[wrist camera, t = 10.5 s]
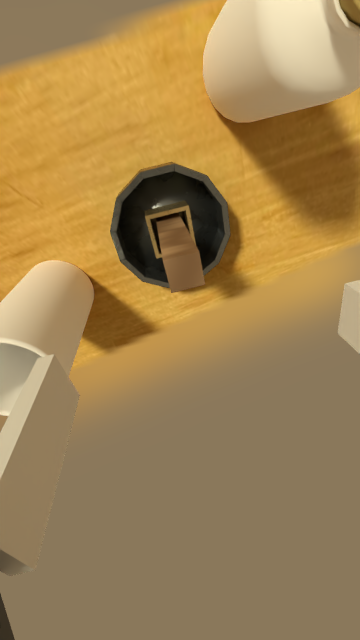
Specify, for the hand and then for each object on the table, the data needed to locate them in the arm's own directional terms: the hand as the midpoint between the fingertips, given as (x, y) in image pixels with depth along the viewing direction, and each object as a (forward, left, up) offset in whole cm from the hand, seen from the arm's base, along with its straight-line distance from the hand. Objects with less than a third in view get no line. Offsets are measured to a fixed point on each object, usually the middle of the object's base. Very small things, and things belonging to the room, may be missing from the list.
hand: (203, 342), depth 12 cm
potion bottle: (+10, +12, -23) cm, 28 cm away
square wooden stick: (0, 0, -22) cm, 22 cm away
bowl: (0, 0, -23) cm, 23 cm away
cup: (-15, -5, -23) cm, 28 cm away
